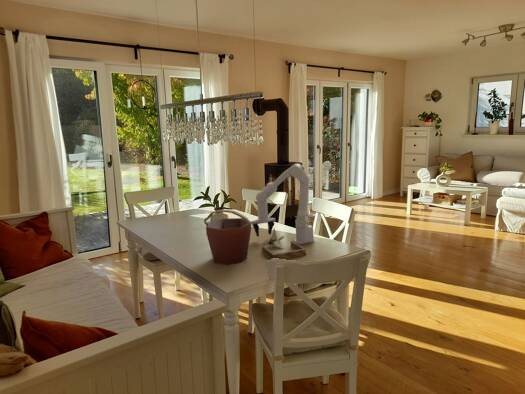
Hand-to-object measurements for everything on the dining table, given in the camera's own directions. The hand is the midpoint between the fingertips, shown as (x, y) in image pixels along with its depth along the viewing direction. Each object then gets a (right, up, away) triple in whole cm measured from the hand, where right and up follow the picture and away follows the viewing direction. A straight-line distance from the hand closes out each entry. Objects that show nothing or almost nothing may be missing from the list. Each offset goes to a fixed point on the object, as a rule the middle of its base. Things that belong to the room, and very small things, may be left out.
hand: (263, 235), depth 217 cm
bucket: (-17, -9, -28) cm, 34 cm away
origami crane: (+7, -6, -13) cm, 16 cm away
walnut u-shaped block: (+10, -7, -23) cm, 26 cm away
